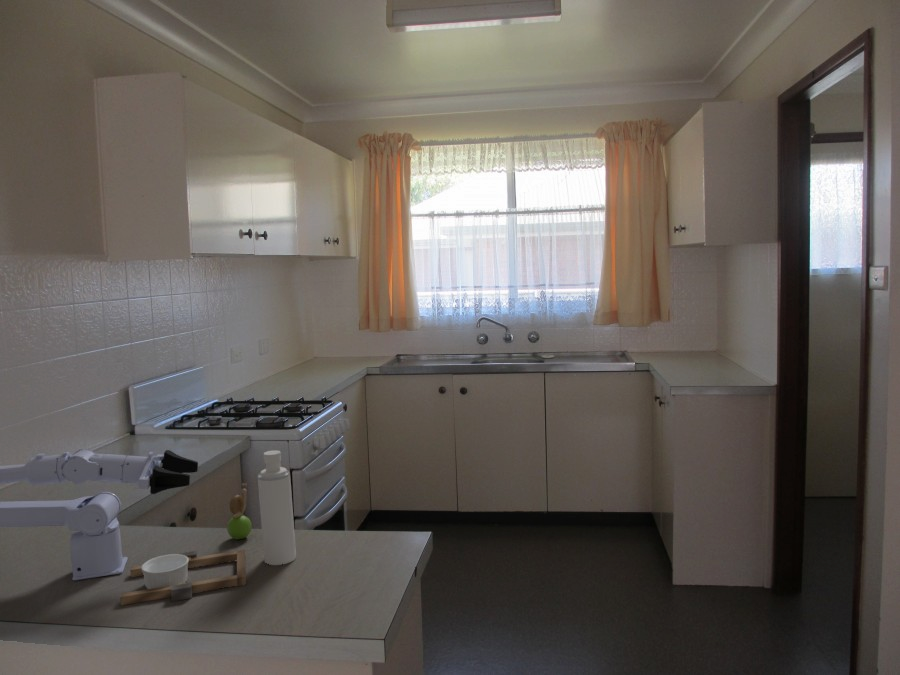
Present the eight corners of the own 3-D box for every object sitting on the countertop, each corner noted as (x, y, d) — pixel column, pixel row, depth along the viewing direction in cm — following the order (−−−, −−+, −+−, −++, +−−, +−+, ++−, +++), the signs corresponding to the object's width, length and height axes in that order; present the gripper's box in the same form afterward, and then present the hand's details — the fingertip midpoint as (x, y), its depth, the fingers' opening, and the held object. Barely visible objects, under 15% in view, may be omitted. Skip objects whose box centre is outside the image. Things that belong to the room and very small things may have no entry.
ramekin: (175, 569, 151) (173, 550, 151) (199, 580, 146) (197, 560, 145) (134, 586, 144) (132, 565, 144) (157, 597, 139) (155, 576, 138)
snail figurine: (259, 532, 169) (255, 483, 168) (244, 543, 163) (240, 492, 162) (238, 531, 171) (234, 482, 170) (223, 542, 165) (219, 491, 163)
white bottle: (302, 555, 155) (294, 442, 152) (280, 567, 149) (271, 450, 147) (279, 550, 159) (271, 439, 156) (257, 562, 153) (248, 447, 150)
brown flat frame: (119, 610, 134) (118, 598, 134) (133, 570, 152) (132, 560, 151) (245, 589, 140) (244, 578, 140) (245, 553, 158) (244, 543, 158)
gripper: (116, 463, 143) (186, 468, 145) (137, 439, 158) (201, 444, 159) (114, 496, 145) (184, 500, 147) (136, 470, 159) (200, 474, 161)
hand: (193, 473), depth 153 cm, fingers open, 7 cm apart
